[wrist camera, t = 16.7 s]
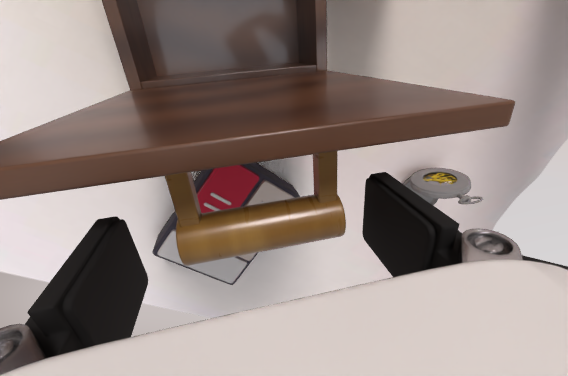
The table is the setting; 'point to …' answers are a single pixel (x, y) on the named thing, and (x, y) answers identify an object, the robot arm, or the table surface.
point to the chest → (216, 39)
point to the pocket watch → (441, 185)
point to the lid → (238, 147)
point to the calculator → (218, 196)
